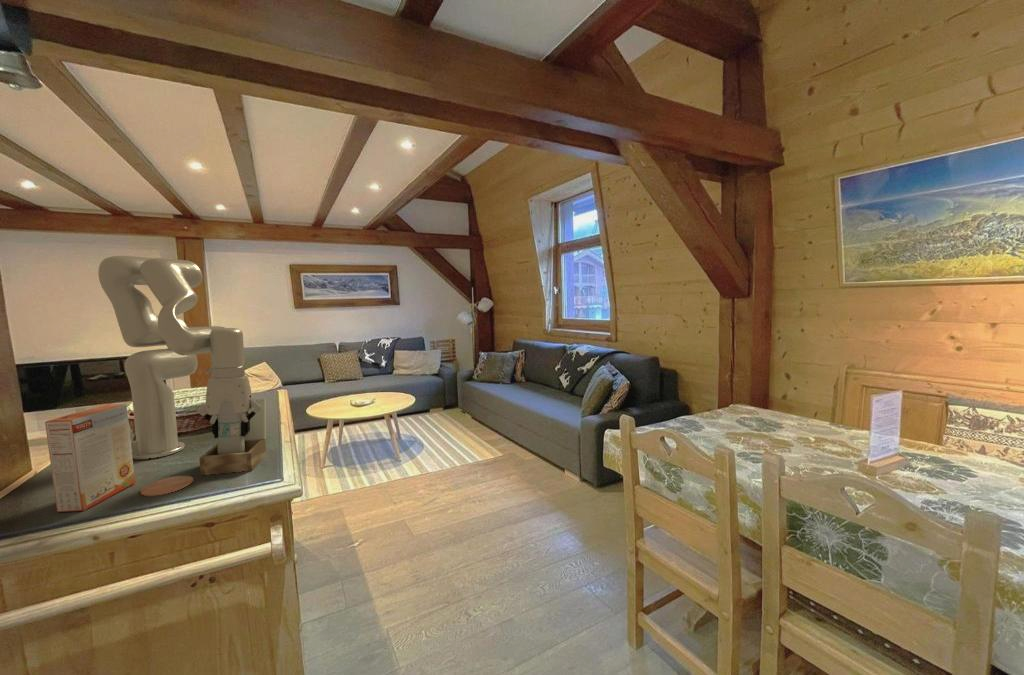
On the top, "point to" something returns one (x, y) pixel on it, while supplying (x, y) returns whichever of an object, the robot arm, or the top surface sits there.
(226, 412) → the bottle
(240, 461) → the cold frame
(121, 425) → the cracker box
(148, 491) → the saucer
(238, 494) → the top surface
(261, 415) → the lid
